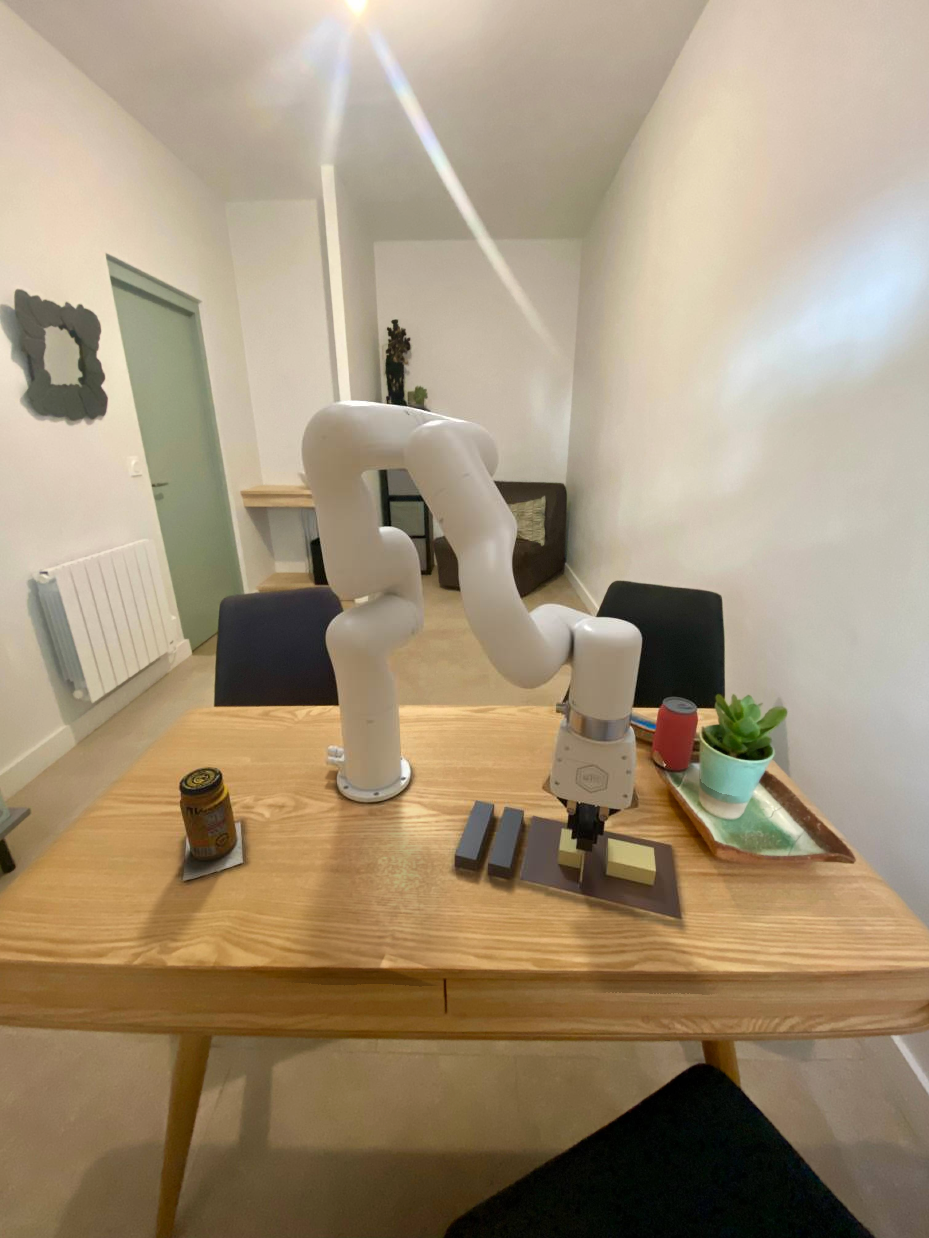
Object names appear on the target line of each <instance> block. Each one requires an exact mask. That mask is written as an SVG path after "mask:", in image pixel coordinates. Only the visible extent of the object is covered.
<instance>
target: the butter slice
mask: <svg viewBox="0 0 929 1238" xmlns="http://www.w3.org/2000/svg"><path fill="white" fill-rule="evenodd" d="M571 835H572V830H567V829H563V828H562V832H561V839H560V847H559V856H558V864H562V865H567V866H571V867H575V868H580V865H581V857H582V850H579V849H576V841H577V839H575V840H574V839H571Z"/></svg>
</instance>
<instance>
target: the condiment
mask: <svg viewBox="0 0 929 1238" xmlns="http://www.w3.org/2000/svg"><path fill="white" fill-rule="evenodd" d="M178 790H179V792H180V800H179V808H180V812H181V816H182V820H183V822H184V823H183V824H184V828H185V829H184V830H185V833H186V837H185V838H186V839H185V852H184V855H185V856H184V864H183V875H182V881H183V882H184V881H188V880H193V879H196V878H200V877H202V876H203V877H204V876H207V875H210V874H213V873H216V872H220V871H222V870H225V869H228V868H232V867H235V866H238V865H240V864H243V863H244V860H243V856H244V855H243V843H242V840H243V839H242V825H241V823H242V822H241V821H238V822H235V817H234V810H233V808H232V801H231V796H230V792H229V791H230V790H229V788H228V786H227V785H226V783H225V781H224V779H223V772H222V771H221V770H219V769H218V767H211V766H208V767H206V766H205V767H201V768H196V769H195V770H192V771H191V772H188V773H187V774H186V775H185V776H183V778H181V780H180V781H179V785H178Z"/></svg>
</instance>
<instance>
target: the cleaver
mask: <svg viewBox="0 0 929 1238" xmlns="http://www.w3.org/2000/svg"><path fill="white" fill-rule="evenodd" d="M579 803H580V812H579V819H578V830H577V841H576V849H579V850H582V857H581V868H580V881H579V886H582V876H583V866H584V857H585V851H588V852H592V848H593V836H594V813H595V807H596V805H592V804H587V803H582V802H579Z"/></svg>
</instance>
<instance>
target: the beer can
mask: <svg viewBox="0 0 929 1238" xmlns="http://www.w3.org/2000/svg"><path fill="white" fill-rule="evenodd" d="M698 724H699V716H698V707H697V705H696V704H695V703H694V702H692V701H691V700H689V699H687V698H684V697H678V696H670V697H666V698H664V699H663V700H662V704H661V705H660V706H659V708H658V711H657V716H656V723H655V729H654V732H653V740H652V745H651V752H650V758H651V759H652V761H653V762H654V758H653V752H654V751H655V750H656V751H658V753H659V755H661V757H662V759H663V761H664V763H665V764H666V766H665V768H664V770H667V771H673V772H679V771H680V772H681V771H684V770H685V769H688V768H689V765H690V762H691V758H692V753H693V748H694V742H695V738H696V734H697V728H698Z"/></svg>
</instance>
